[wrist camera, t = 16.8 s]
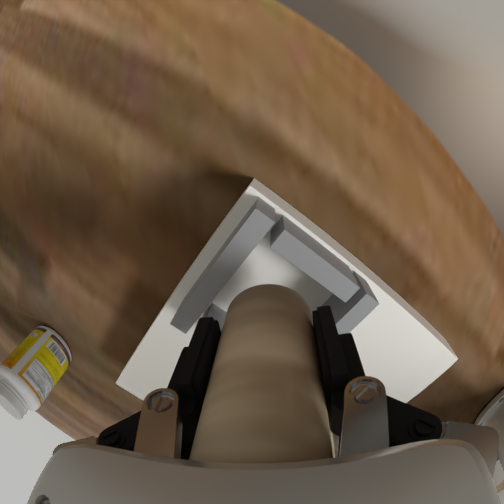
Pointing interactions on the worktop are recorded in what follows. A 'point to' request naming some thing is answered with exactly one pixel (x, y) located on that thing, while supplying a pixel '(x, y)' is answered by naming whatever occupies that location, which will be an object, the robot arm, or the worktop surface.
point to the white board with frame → (301, 281)
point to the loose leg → (265, 384)
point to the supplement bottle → (33, 371)
